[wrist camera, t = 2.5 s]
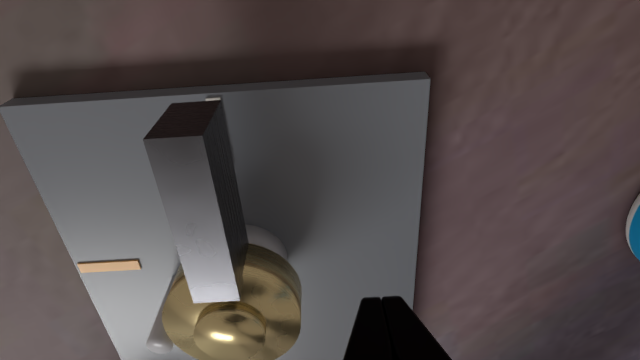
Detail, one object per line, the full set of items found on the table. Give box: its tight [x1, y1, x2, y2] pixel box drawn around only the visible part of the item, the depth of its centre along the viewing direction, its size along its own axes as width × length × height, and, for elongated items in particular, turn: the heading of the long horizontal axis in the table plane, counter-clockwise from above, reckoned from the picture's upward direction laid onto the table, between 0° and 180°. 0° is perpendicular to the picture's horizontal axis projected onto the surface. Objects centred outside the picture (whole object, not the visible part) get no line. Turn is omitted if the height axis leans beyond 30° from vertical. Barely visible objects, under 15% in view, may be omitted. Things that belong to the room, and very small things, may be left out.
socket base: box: [0, 72, 430, 360], centre depth 21 cm, size 18×18×5 cm
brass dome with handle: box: [143, 100, 302, 360], centre depth 17 cm, size 6×12×3 cm, turn 3°
